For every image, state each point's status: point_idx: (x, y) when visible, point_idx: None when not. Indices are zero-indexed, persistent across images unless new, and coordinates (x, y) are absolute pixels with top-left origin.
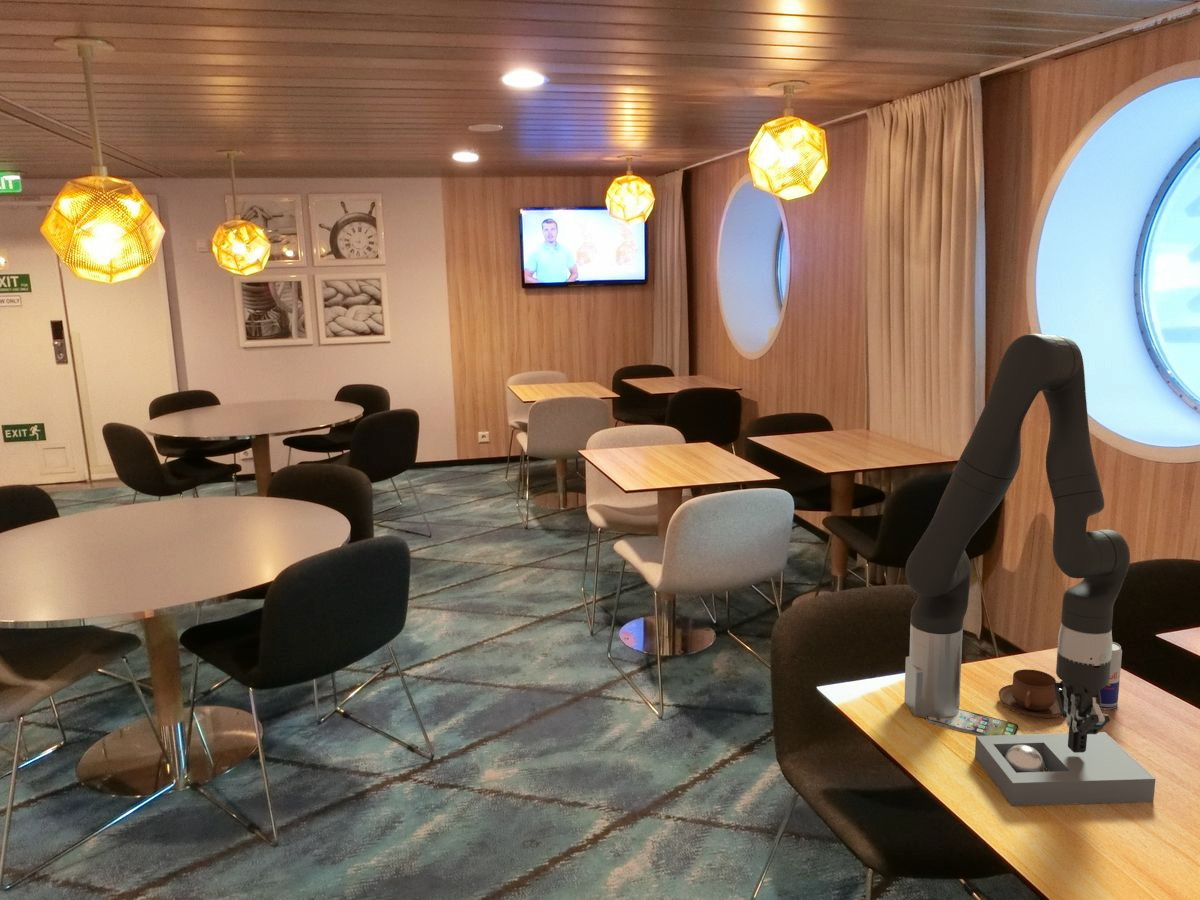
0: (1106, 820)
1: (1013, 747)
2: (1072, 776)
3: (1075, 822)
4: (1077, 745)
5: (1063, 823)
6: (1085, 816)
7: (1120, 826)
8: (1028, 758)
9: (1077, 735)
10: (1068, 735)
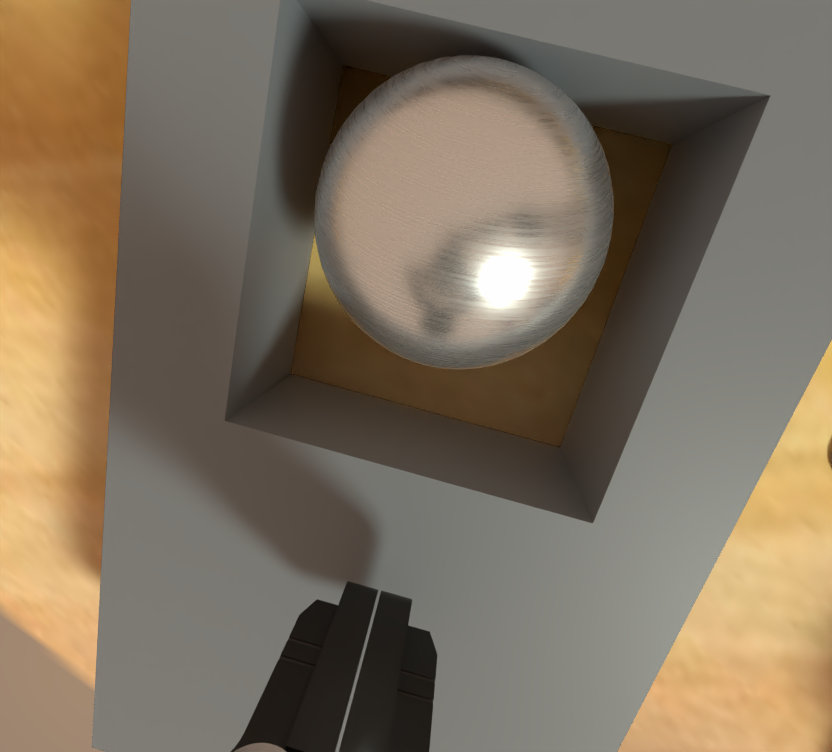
0: (79, 379)
1: (543, 141)
2: (166, 388)
3: (75, 229)
4: (291, 638)
5: (71, 161)
6: (114, 312)
7: (36, 402)
8: (345, 170)
9: (265, 730)
10: (397, 683)
